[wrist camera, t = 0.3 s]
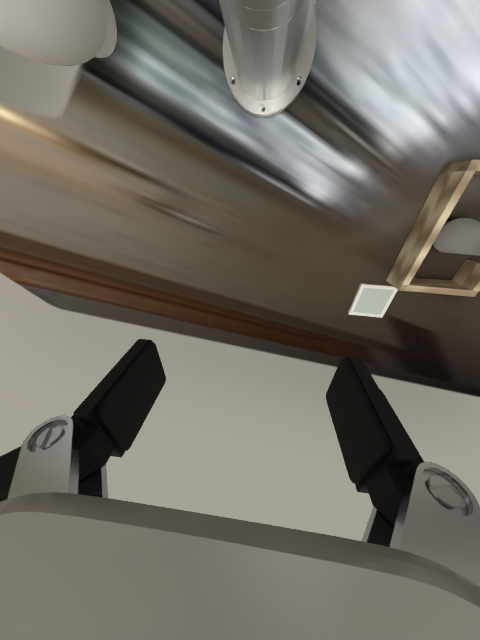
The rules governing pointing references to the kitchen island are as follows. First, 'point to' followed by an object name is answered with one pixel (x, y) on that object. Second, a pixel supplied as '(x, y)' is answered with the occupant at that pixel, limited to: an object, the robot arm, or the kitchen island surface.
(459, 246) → the salt shaker
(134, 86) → the kitchen island surface
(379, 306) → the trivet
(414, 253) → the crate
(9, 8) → the lamp
